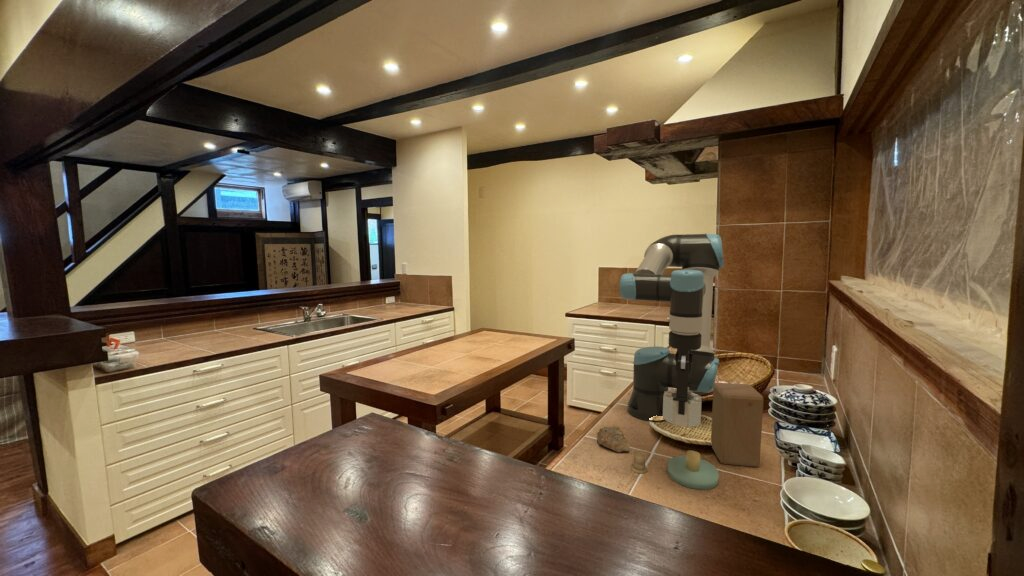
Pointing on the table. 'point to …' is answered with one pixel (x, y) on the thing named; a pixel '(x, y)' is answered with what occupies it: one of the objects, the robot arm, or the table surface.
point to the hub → (693, 471)
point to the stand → (639, 463)
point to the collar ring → (693, 408)
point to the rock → (613, 439)
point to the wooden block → (737, 424)
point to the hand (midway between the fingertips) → (681, 417)
